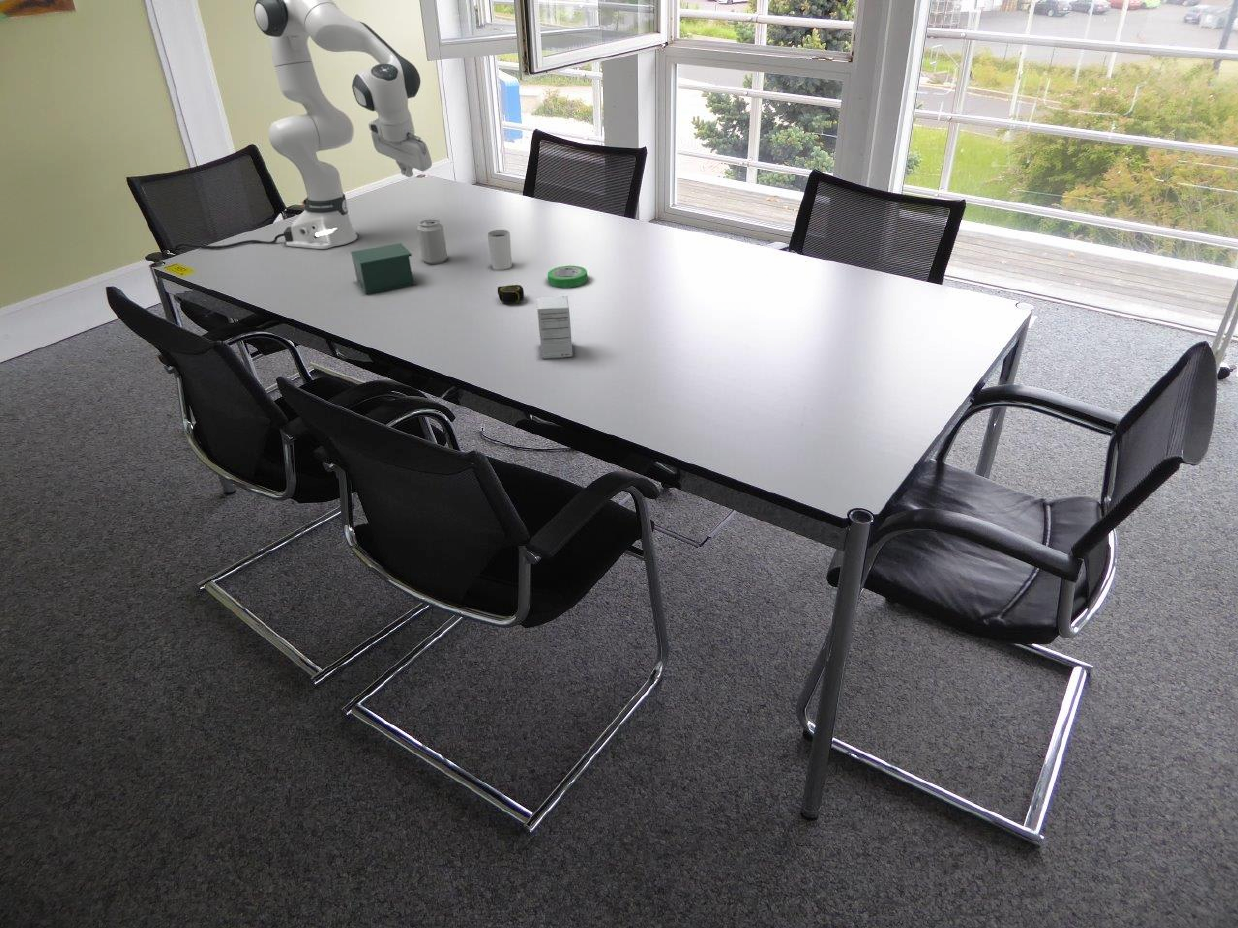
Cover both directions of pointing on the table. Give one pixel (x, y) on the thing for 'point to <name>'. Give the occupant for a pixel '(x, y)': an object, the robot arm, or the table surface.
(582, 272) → the tape roll
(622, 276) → the table surface
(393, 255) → the tin lid
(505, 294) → the tape measure
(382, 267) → the tin
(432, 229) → the can
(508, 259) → the white cup
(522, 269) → the table surface
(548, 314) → the white packaging box
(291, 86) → the robot arm
